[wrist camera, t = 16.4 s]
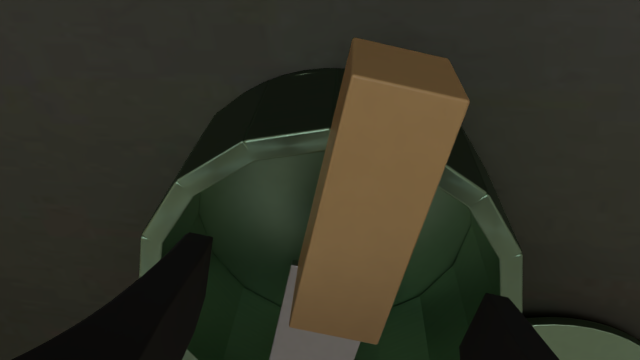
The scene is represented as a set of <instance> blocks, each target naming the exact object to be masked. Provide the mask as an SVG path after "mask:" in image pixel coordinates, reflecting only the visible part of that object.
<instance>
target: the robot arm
mask: <svg viewBox="0 0 640 360" xmlns="http://www.w3.org/2000/svg"><path fill="white" fill-rule="evenodd" d="M212 243H213V237H211V236H206V235H201V234H196V233H191V232H189V233H187V234H186V235H184V236H183V237H182V239H181V240H180V241H179V242H178V243H177V244H176V245H175V246H174V247H173V248H172V249H171V250H170V251H169V252H168V253H167V254H166V255H165V256H164V257H163V258H162V259H161V260H160V261H158V262H157V263H156V264H155V265H154V266H153V267H152V268H151V269H149V270H148V271H147V272H146V273H145V274H144V275H143V276H142V277H140V278H139V279H138V280H137V281H136V282H134V283H133V284H132V285H131V286H129V287H128V288H127V289H126V290H124V291H123V292H122V293H120V294H119V295H118V296H117V297H115V298H114V299H113V300H112V301H110V302H109V303H107V304H106V305H105V306H103V307H102V308H100V309H99V310H98V311H96V312H95V313H93V314H92V315H90V316H89V317H87V318H86V319H84V320H82V321H81V322H79V323H78V324H76V325H75V326H73V327H71V328H70V329H68V330H66V331H65V332H63V333H61V334H59V335H58V336H56V337H54V338H53V339H51V340H49V341H47V342H46V343H44V344H42V345H40V346H38V347H36V348H34V349H32V350H30V351H28V352H26V353H24V354H22V355H20V356H18V357H16V358H14V359H12V360H182V359H183V357H184V355H185V352H186V350H187V348H188V346H189V343H190V341H191V339H192V336H193V334H194V332H195V329H196V325H197V322H198V319H199V316H200V313H201V309H202V306H203V303H204V300H205V296H206V289H207V281H208V273H209V266H210V258H211V250H212ZM459 352H460V360H560V359H559V358H558V357H557V356H556V355H555V353H554V352H553V351H552V350H551V349H550V347H549V346H548V345H547V344H546V343H545V341H544V340H543V339H542V338H541V336H540V335H539V334H538V333H537V331H536V330H535V329H534V328H533V326H532V325H531V324H530V323H529V321H528V320H527V319H526V318H525V317H524V315H523V314H522V313H521V312H520V310H519V309H518V308H517V307H516V306H515V304H514V303H513V302H512V301H511V300H510V299H509V298H508V297H504V296H499V295H494V294H489V293H485V295H484V297H483V299H482V301H481V303H480V305H479V307H478V309H477V312H476V314H475V316H474V318H473V320H472V322H471V324H470V326H469V328H468V330H467V332H466V334H465V336H464V338H463V340H462V342H461V344H460V346H459Z"/></svg>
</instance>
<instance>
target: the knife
mask: <svg viewBox="0 0 640 360" xmlns="http://www.w3.org/2000/svg"><path fill="white" fill-rule="evenodd" d="M469 103H470V100H469V99H468V97H467V95H466V93H465V91H464V89H463V87H462V85H461V83H460V81H459V79H458V77H457V75H456V73H455V71H454V69H453V67H452V65H451V63H450V61H449V60H448V59H446V58H442V57H438V56H433V55H429V54H425V53H420V52H416V51H411V50H407V49H403V48H398V47H394V46H390V45H385V44H381V43H376V42H372V41H368V40H363V39H359V38H353V39H352V42H351V47H350V51H349V55H348V59H347V63H346V67H345V71H344V75H343V80H342V84H341V88H340V92H339V96H338V100H337V104H336V108H335V113H334V117H333V121H332V125H331V129H330V133H329V137H328V142H327V146H326V150H325V154H324V158H323V162H322V166H321V170H320V175H319V179H318V183H317V187H316V191H315V195H314V199H313V203H312V208H311V212H310V216H309V220H308V224H307V228H306V232H305V236H304V241H303V245H302V249H301V253H300V257H299V261H297V260H292V262H291V267H290V271H289V275H288V279H287V284H286V288H285V292H284V297H283V301H282V305H281V309H280V314H279V318H278V322H277V326H276V331H275V335H274V339H273V344H272V348H271V352H270V356H269V360H354V359H355V356H356V353H357V350H358V347H359V345H360V342H365V343H370V344H375V345H376V344H378V342H379V340H380V337H381V334H382V332H383V329H384V327H385V324H386V321H387V319H388V316H389V313H390V311H391V308H392V306H393V303H394V300H395V298H396V295H397V292H398V290H399V287H400V284H401V282H402V279H403V277H404V274H405V271H406V269H407V266H408V263H409V261H410V258H411V256H412V253H413V250H414V248H415V245H416V242H417V240H418V237H419V235H420V232H421V229H422V227H423V224H424V221H425V219H426V216H427V214H428V211H429V208H430V206H431V203H432V200H433V198H434V195H435V193H436V190H437V187H438V185H439V182H440V179H441V177H442V174H443V172H444V169H445V166H446V164H447V161H448V158H449V156H450V153H451V150H452V148H453V145H454V143H455V140H456V137H457V135H458V132H459V129H460V127H461V124H462V122H463V119H464V116H465V114H466V111H467V108H468V106H469Z"/></svg>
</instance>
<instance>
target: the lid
mask: <svg viewBox="0 0 640 360" xmlns="http://www.w3.org/2000/svg"><path fill="white" fill-rule="evenodd" d="M526 319H527V320H528V321H529V323H530V324H531V325H532V326H533V328H534V329H535V330H536V331H537V333H538V334H539V335H540V336H541V338H542V339H543V340H544V341H545V343H546V344H547V345H548V346H549V347H550V349H551V350H552V351H553V352H554V353H555V355H556V356H557V357H558V358H559V359H560V360H640V341H639V340H638V339H636V338H634V337H632V336H630V335H629V334H627V333H625V332H623V331H620V330H618V329H615V328H612V327H610V326H607V325H604V324H600V323H596V322H592V321H587V320H581V319H574V318H563V317H534V318H526Z"/></svg>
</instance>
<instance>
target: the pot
mask: <svg viewBox="0 0 640 360" xmlns="http://www.w3.org/2000/svg"><path fill="white" fill-rule="evenodd" d="M344 71H345V69H337V68H323V69H313V70H303V71H299V72H295V73H290V74H286V75H282V76H279V77H277V78H274V79H271V80H268V81H266V82H263V83H261V84H259V85H258V86H256V87H254V88H252V89H250V90H248V91H246V92H245V93H243V94H242V95H240V96H239V97H238V98H236V99H235V100H234V101H232V102H231V103H230V104H228V105H227V106H226V107H225V108H223V109H222V110H220V111H219V112H217V114H216V115H214V117H213V119H212V120H211V122H210V123H209V125H208V127H207V128H206V130H205V131H204V133H203V134H202V136H201V138H200V139H199V141H198V142H197V144H196V146H195V147H194V149H193V150H192V152H191V153H190V155H189V157H188V158H187V160H186V161H185V163H184V165H183V166H182V168H181V170H180V171H179V173H178V175H177V176H176V178H175V180H174V181H173V183H172V184H171V186H170V188H169V189H168V191H167V193H166V194H165V196H164V198H163V199H162V201H161V203H160V204H159V206H158V207H157V209H156V211H155V212H154V214H153V216H152V217H151V219H150V221H149V222H148V224H147V225H146V227H145V229H144V230H143V232H142V236H141V244H140V266H139V278H140V277H142V276H143V275H144V274H145V273H146V272H147V271H148V270H149V269H151V268H152V267H153V266H154V265H155V264H156V263H157V262H158V261H160V260H161V259H162V258H163V257H164V256H165V255H166V254H167V253H168V252H169V251H170V250H171V249H172V248H173V247H174V246H175V245H176V244H177V243H178V242H179V241H180V240H181V239H182V237H183V236H184V235H186V234H187V233H189V232H191V233H196V234H201V235H206V236H211V237H213V243H212V250H211V258H210V266H209V273H208V281H207V289H206V296H205V300H204V303H203V306H202V309H201V313H200V316H199V319H198V322H197V325H196V329H195V332H194V334H193V336H192V339H191V341H190V343H189V346H188V348H187V350H186V352H185V355H184V357H183V359H182V360H269V356H270V352H271V348H272V344H273V339H274V335H275V331H276V326H277V322H278V318H279V314H280V309H281V305H282V301H283V297H284V292H285V288H286V284H287V279H288V275H289V271H290V267H291V262H292V260H297V261H299V257H300V253H301V249H302V245H303V241H304V236H305V232H306V228H307V224H308V220H309V216H310V212H311V208H312V203H313V199H314V195H315V191H316V187H317V183H318V179H319V175H320V170H321V166H322V162H323V158H324V154H325V150H326V146H327V142H328V137H329V133H330V129H331V125H332V121H333V117H334V113H335V108H336V104H337V100H338V96H339V92H340V88H341V84H342V80H343V75H344ZM485 293H489V294H494V295H499V296H504V297H508V298H509V299H510V300H511V301H512V302H513V303H514V304H515V306H516V307H517V308H518V309H519V310H520V312H521V313H522V311H523V254H522V250H521V248H520V245H519V243H518V241H517V239H516V236H515V234H514V232H513V230H512V227H511V225H510V223H509V221H508V218H507V216H506V214H505V212H504V209H503V207H502V205H501V203H500V200H499V198H498V196H497V193H496V191H495V189H494V187H493V184H492V182H491V180H490V178H489V175H488V173H487V171H486V169H485V167H484V166H483V164H482V162H481V160H480V158H479V157H478V155H477V153H476V151H475V150H474V147H473V145H472V143H471V142H470V140H469V139H468V137H467V135H466V134H465V132H464V130H463V128H462V126H461V127H460V129H459V132H458V135H457V137H456V140H455V143H454V145H453V148H452V150H451V153H450V156H449V158H448V161H447V164H446V166H445V169H444V172H443V174H442V177H441V179H440V182H439V185H438V187H437V190H436V193H435V195H434V198H433V200H432V203H431V206H430V208H429V211H428V214H427V216H426V219H425V221H424V224H423V227H422V229H421V232H420V235H419V237H418V240H417V242H416V245H415V248H414V250H413V253H412V256H411V258H410V261H409V263H408V266H407V269H406V271H405V274H404V277H403V279H402V282H401V284H400V287H399V290H398V292H397V295H396V298H395V300H394V303H393V306H392V308H391V311H390V313H389V316H388V319H387V321H386V324H385V327H384V329H383V332H382V334H381V337H380V340H379V342H378V344H376V345H375V344H370V343H365V342H360V345H359V347H358V350H357V353H356V356H355V359H354V360H460V352H459V346H460V344H461V342H462V340H463V338H464V336H465V334H466V332H467V330H468V328H469V326H470V324H471V322H472V320H473V318H474V316H475V314H476V312H477V309H478V307H479V305H480V303H481V301H482V299H483V297H484V295H485Z"/></svg>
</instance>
